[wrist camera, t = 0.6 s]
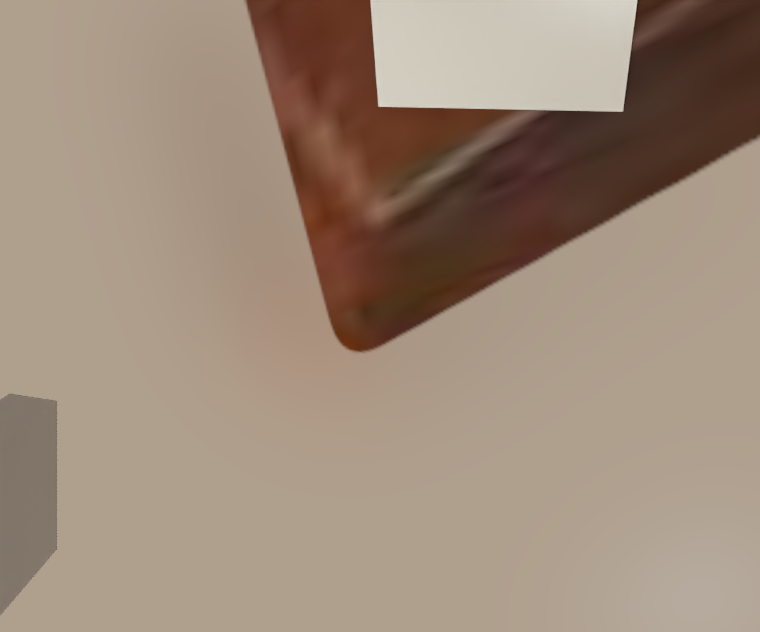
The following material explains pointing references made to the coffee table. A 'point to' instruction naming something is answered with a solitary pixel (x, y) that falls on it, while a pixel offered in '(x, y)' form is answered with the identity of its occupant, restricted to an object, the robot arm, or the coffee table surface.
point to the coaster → (503, 53)
